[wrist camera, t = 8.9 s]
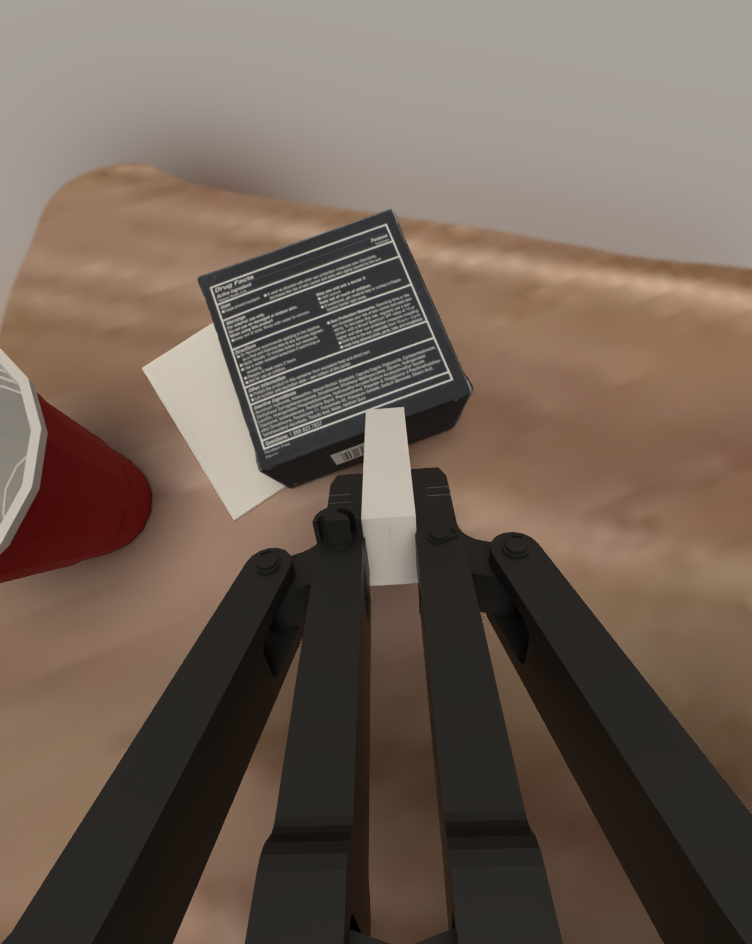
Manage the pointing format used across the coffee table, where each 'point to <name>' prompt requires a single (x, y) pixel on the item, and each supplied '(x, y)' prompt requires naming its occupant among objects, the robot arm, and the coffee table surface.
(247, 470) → the mat
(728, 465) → the coffee table surface
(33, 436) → the plastic cup
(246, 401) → the small box
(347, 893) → the robot arm
